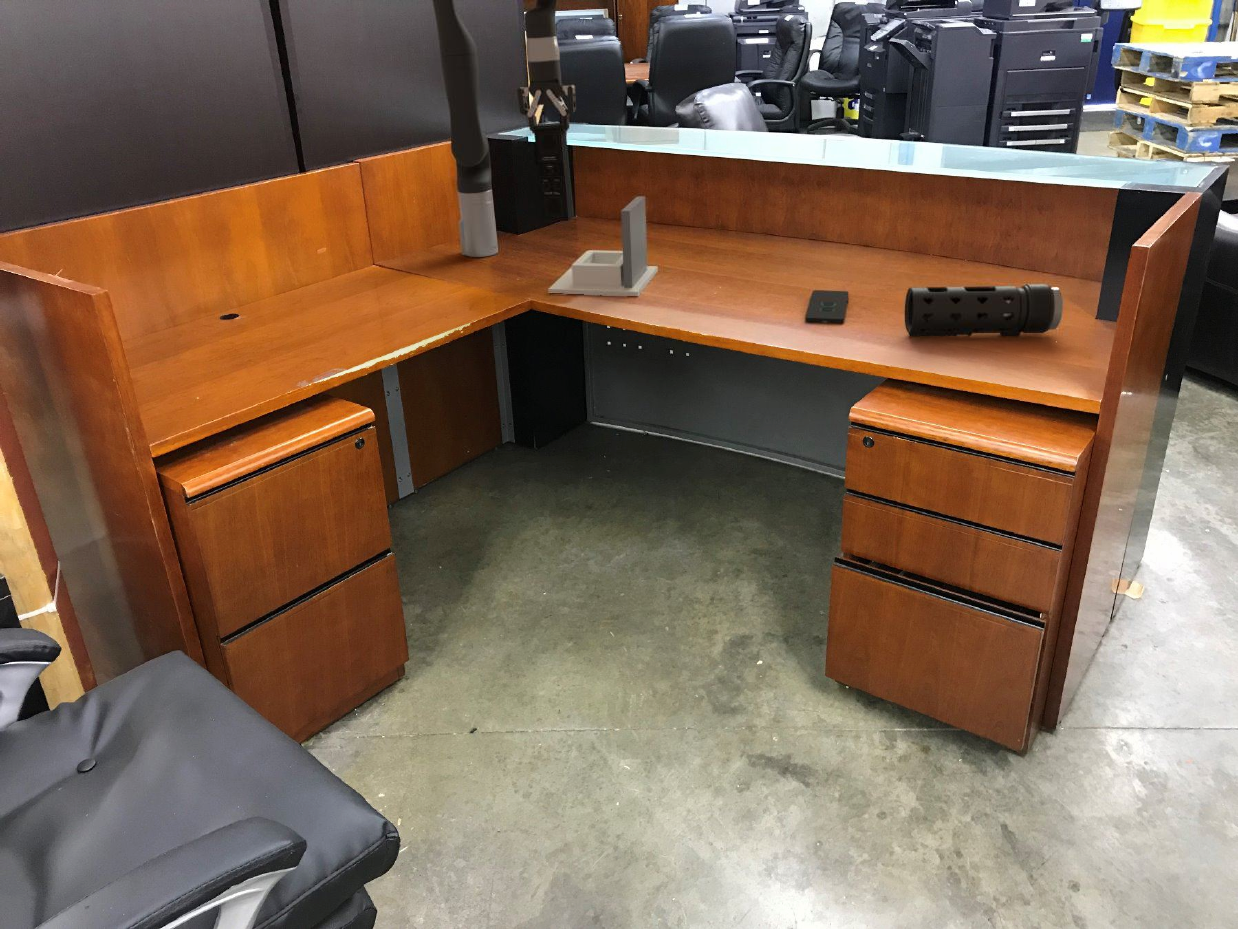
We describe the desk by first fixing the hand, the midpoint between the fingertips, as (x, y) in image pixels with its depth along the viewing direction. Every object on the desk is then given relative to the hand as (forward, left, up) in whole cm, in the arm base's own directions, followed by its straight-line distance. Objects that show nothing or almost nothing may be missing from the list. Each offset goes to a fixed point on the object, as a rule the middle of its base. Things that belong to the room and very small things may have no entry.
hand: (549, 132), depth 231 cm
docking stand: (+14, -8, -34) cm, 38 cm away
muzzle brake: (+99, -37, -35) cm, 111 cm away
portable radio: (0, 0, -21) cm, 21 cm away
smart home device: (+69, -23, -35) cm, 80 cm away
